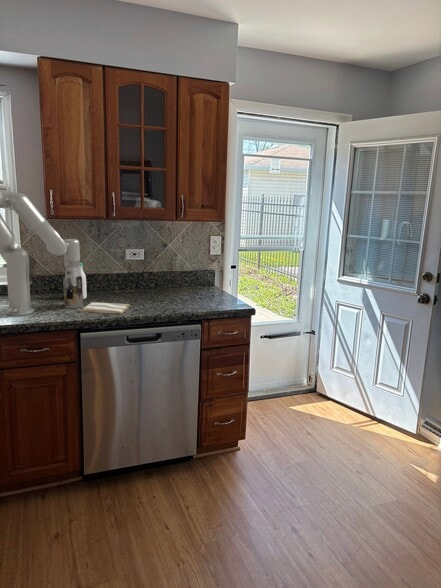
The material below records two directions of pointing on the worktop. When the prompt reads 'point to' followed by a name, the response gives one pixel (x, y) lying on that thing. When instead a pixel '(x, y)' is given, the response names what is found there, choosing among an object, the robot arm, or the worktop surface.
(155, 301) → the worktop surface
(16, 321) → the worktop surface
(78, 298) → the coffee box
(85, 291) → the milk bottle
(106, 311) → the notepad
